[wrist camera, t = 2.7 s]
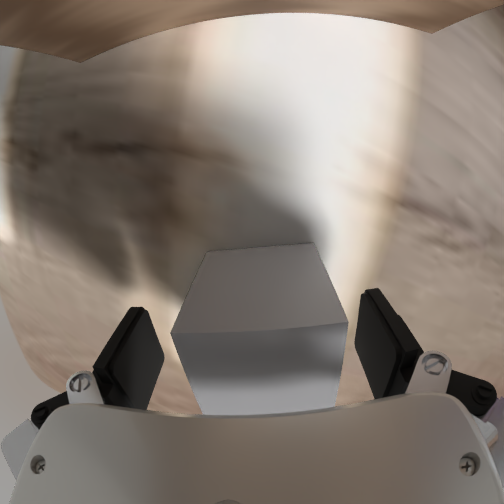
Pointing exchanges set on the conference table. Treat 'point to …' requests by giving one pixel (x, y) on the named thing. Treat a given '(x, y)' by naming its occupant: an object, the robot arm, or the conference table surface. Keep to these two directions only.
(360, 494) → the robot arm
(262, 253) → the grey cube-like block
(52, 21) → the stand
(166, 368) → the conference table surface
